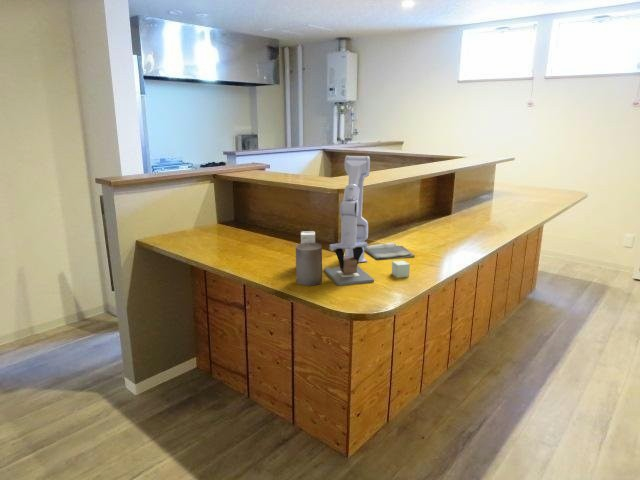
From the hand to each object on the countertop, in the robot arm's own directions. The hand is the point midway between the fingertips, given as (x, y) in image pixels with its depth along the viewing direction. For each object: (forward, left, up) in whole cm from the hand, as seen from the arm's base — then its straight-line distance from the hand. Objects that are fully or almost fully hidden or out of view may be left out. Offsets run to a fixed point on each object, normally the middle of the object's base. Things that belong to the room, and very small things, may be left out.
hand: (348, 267), depth 172 cm
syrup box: (-15, -12, -4) cm, 20 cm away
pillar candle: (+2, -16, -4) cm, 17 cm away
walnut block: (0, 0, -2) cm, 2 cm away
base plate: (0, 0, -4) cm, 4 cm away
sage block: (+4, +20, -4) cm, 21 cm away
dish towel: (-25, +28, -4) cm, 38 cm away
